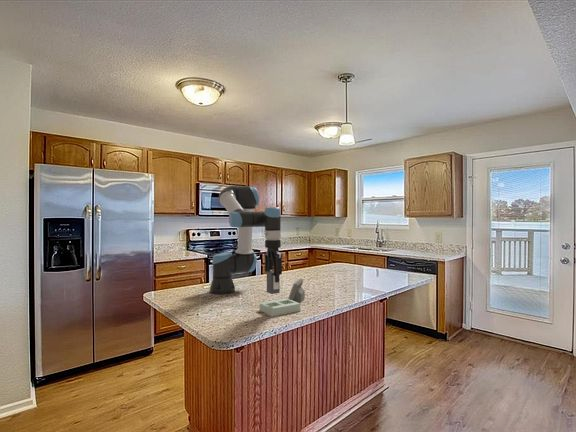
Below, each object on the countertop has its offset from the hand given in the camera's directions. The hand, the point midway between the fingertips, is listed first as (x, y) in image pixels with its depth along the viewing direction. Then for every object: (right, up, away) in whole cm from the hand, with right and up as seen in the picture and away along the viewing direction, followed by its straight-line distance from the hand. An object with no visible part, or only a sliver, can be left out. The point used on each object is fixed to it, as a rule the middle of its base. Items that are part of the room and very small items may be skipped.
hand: (273, 287), depth 155 cm
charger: (0, -2, 0) cm, 2 cm away
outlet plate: (+3, -11, +2) cm, 12 cm away
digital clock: (+11, -12, +23) cm, 28 cm away
